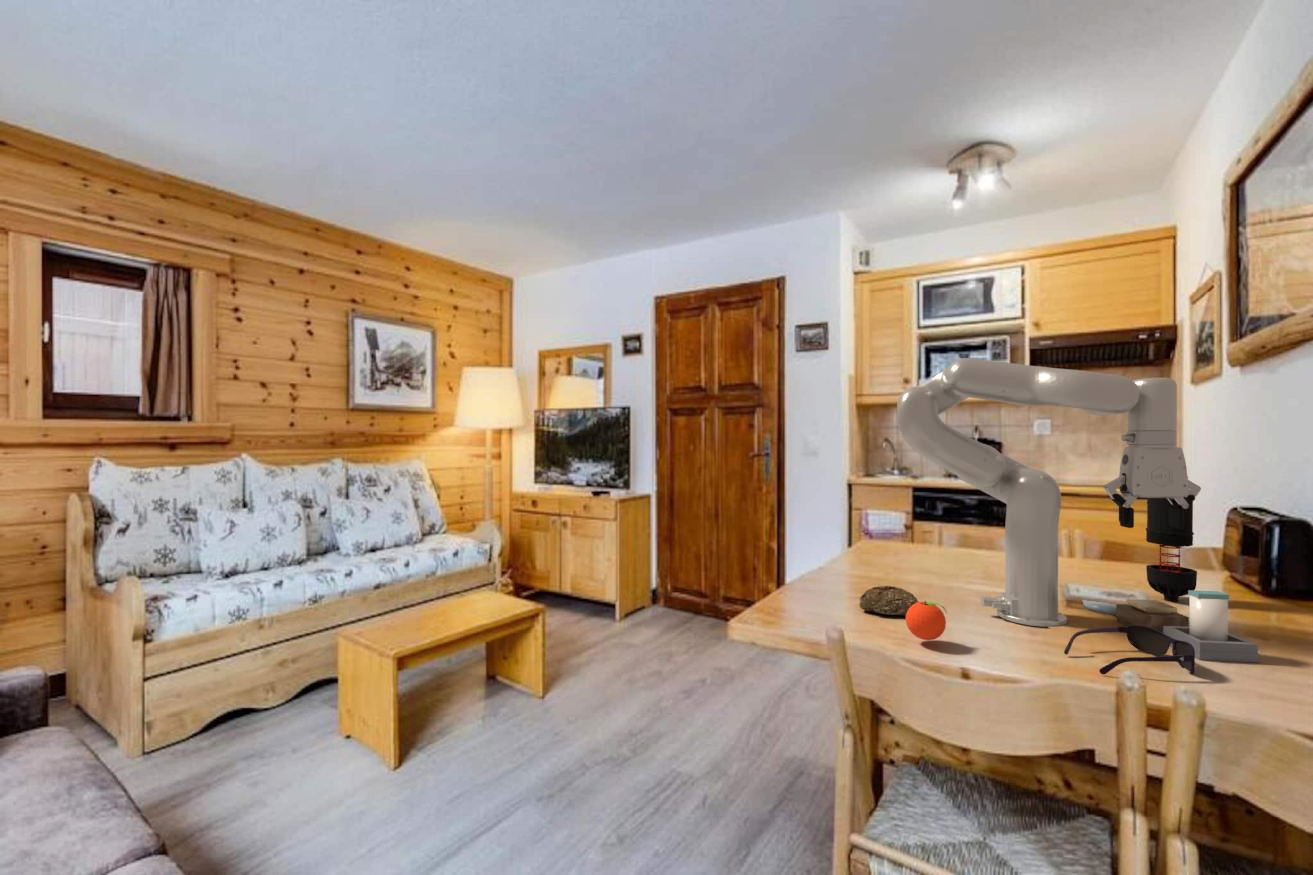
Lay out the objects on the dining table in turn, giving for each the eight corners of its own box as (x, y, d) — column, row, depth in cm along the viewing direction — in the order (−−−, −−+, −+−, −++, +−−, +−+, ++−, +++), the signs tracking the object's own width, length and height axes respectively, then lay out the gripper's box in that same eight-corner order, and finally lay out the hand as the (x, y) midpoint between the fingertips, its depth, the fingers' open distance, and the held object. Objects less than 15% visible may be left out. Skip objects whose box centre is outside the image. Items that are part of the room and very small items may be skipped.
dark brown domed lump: (911, 601, 138) (911, 580, 138) (926, 617, 126) (926, 594, 126) (854, 599, 140) (854, 578, 140) (863, 614, 128) (863, 591, 128)
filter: (1210, 609, 131) (1210, 473, 131) (1161, 606, 133) (1161, 473, 133) (1173, 593, 144) (1173, 470, 144) (1129, 591, 146) (1129, 469, 146)
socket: (1199, 659, 101) (1199, 642, 101) (1162, 641, 110) (1162, 625, 110) (1258, 662, 100) (1259, 644, 100) (1216, 643, 109) (1216, 627, 109)
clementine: (935, 631, 116) (935, 595, 116) (959, 643, 109) (959, 605, 109) (898, 634, 115) (898, 597, 115) (919, 646, 108) (920, 607, 108)
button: (1145, 623, 116) (1145, 606, 116) (1126, 615, 121) (1126, 599, 121) (1177, 625, 115) (1177, 608, 115) (1156, 616, 121) (1156, 600, 121)
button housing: (1142, 633, 115) (1142, 615, 115) (1116, 620, 123) (1116, 603, 123) (1188, 635, 114) (1188, 617, 114) (1159, 622, 122) (1159, 605, 122)
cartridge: (1203, 647, 103) (1203, 595, 103) (1182, 637, 108) (1182, 588, 108) (1235, 648, 103) (1236, 596, 102) (1212, 639, 107) (1212, 589, 107)
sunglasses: (1211, 680, 94) (1212, 648, 94) (1114, 681, 93) (1114, 650, 93) (1139, 649, 107) (1139, 621, 107) (1054, 650, 107) (1054, 622, 107)
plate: (1099, 614, 127) (1099, 609, 127) (1073, 601, 137) (1073, 596, 137) (1150, 616, 126) (1150, 611, 126) (1120, 603, 136) (1120, 598, 136)
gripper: (1116, 440, 116) (1115, 529, 116) (1215, 440, 113) (1215, 531, 113) (1093, 440, 123) (1092, 523, 123) (1185, 440, 121) (1185, 525, 121)
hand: (1151, 527), depth 118 cm, fingers open, 8 cm apart
